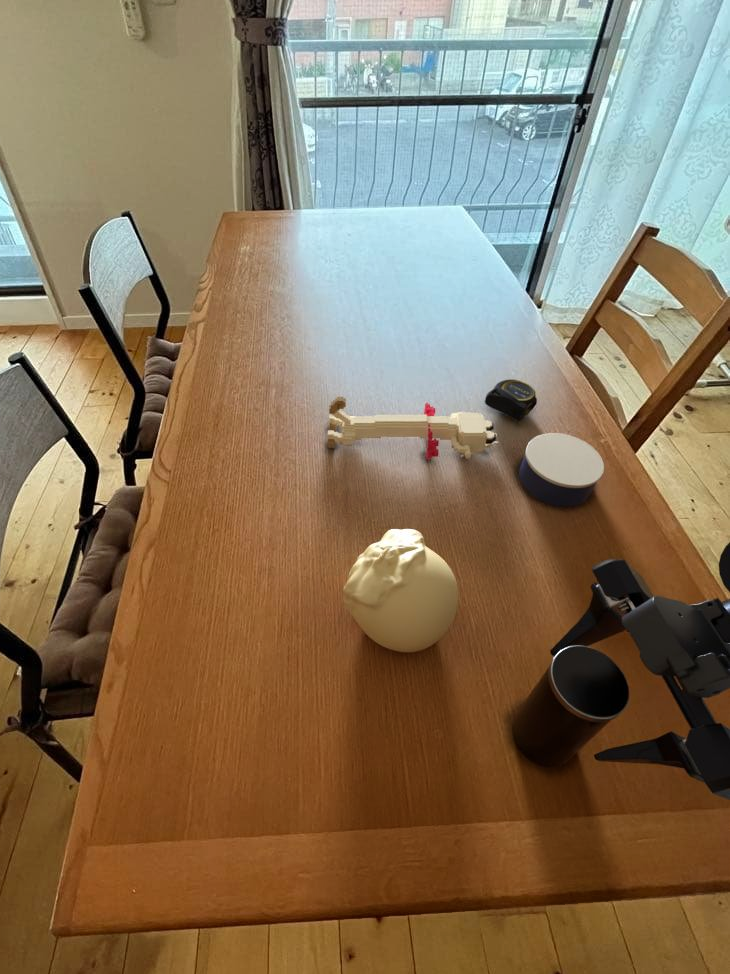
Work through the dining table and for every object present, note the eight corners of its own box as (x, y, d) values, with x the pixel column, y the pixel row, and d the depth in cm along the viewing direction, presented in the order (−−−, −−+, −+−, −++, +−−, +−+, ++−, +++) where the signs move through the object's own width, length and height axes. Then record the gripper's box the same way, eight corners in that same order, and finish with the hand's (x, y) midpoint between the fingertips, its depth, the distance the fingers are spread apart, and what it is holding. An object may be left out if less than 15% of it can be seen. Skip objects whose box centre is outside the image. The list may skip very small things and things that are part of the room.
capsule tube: (580, 722, 56) (635, 665, 46) (567, 781, 52) (624, 733, 43) (520, 692, 58) (560, 632, 48) (503, 747, 54) (543, 694, 45)
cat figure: (327, 466, 82) (500, 467, 80) (323, 421, 76) (511, 421, 73) (332, 422, 89) (491, 422, 86) (328, 377, 83) (500, 376, 80)
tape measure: (480, 408, 90) (485, 389, 87) (503, 390, 94) (509, 372, 91) (516, 428, 87) (523, 410, 84) (539, 409, 90) (546, 390, 88)
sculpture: (378, 557, 69) (386, 501, 62) (465, 606, 65) (486, 552, 57) (325, 625, 63) (327, 571, 55) (419, 685, 58) (435, 636, 50)
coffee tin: (598, 470, 81) (610, 448, 77) (584, 518, 74) (596, 496, 71) (527, 446, 84) (536, 424, 81) (509, 490, 78) (517, 467, 74)
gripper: (660, 495, 44) (492, 583, 51) (835, 741, 31) (580, 814, 38) (700, 546, 50) (547, 618, 57) (859, 768, 38) (637, 826, 45)
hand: (572, 702), depth 49 cm, fingers open, 9 cm apart
